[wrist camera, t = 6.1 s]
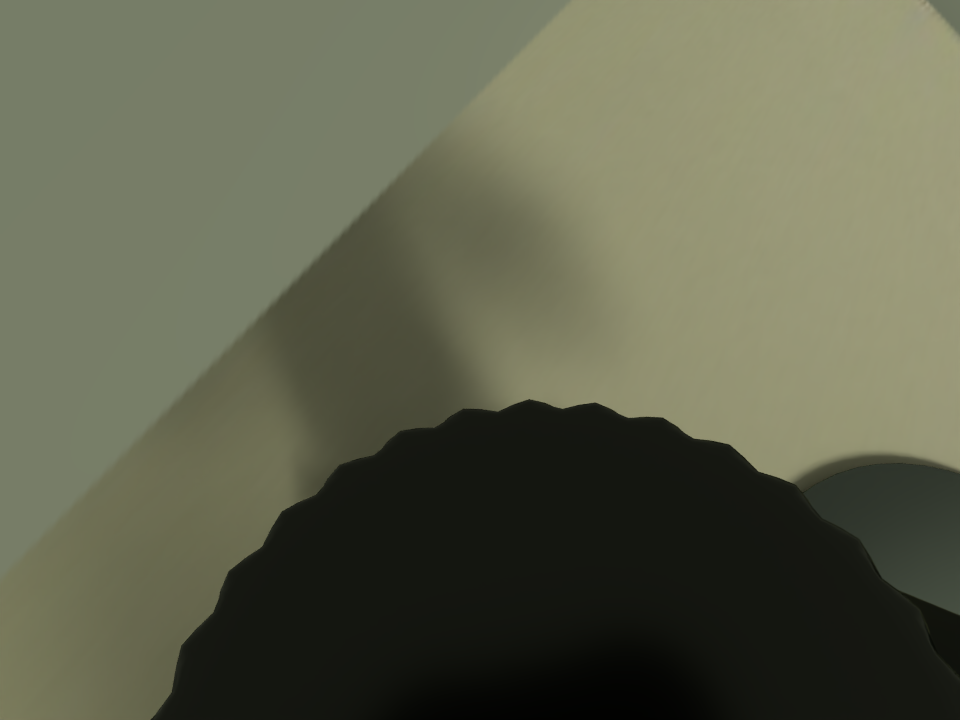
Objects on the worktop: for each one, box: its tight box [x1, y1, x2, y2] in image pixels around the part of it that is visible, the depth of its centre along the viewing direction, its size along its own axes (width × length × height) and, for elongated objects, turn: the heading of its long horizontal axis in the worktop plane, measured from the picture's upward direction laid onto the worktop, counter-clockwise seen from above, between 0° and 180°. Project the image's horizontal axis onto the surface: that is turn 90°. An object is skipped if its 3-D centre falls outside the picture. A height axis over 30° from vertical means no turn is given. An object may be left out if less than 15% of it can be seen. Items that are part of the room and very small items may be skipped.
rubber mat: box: [803, 463, 960, 615], centre depth 20 cm, size 13×13×1 cm
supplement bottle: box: [153, 399, 960, 720], centre depth 8 cm, size 7×7×12 cm
